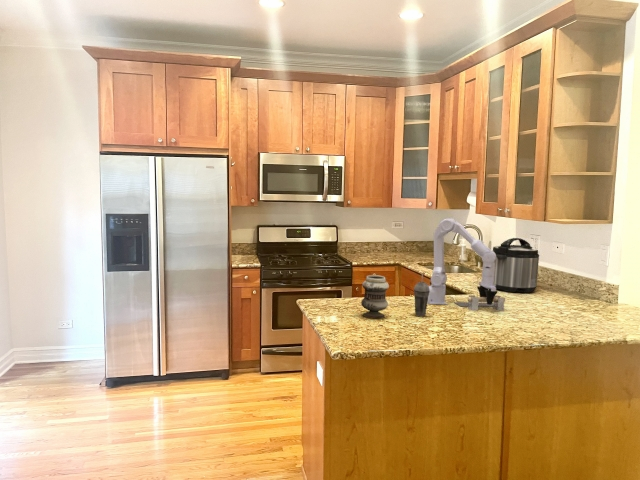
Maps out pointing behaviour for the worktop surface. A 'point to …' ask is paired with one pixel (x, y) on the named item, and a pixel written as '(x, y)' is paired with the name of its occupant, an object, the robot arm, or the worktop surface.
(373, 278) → the apothecary jar
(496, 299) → the rail
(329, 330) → the worktop surface
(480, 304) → the mat
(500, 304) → the hook stands
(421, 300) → the beverage cup
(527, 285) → the pressure cooker
